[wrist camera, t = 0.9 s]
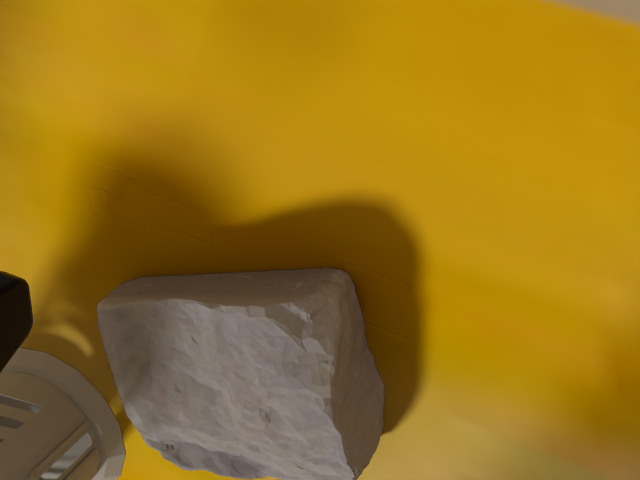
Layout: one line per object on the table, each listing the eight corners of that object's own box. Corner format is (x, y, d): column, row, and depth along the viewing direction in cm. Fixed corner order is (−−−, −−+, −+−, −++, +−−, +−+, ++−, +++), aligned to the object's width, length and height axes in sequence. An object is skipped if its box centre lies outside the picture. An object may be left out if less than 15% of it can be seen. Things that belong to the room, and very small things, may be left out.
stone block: (409, 421, 28) (355, 243, 24) (383, 513, 25) (313, 324, 20) (201, 406, 34) (122, 257, 29) (154, 481, 30) (54, 324, 25)
